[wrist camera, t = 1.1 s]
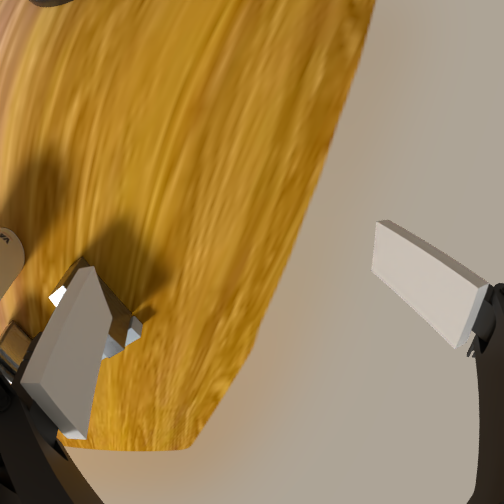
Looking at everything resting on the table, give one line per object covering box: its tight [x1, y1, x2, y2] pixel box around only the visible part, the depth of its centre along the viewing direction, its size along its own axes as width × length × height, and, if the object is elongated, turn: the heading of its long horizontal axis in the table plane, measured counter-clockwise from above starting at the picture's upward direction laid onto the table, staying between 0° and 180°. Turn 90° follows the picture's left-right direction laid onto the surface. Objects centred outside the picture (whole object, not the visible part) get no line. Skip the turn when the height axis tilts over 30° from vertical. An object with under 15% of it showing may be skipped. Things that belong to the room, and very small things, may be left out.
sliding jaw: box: [0, 321, 32, 384], centre depth 33 cm, size 11×4×10 cm, turn 29°
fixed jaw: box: [49, 257, 132, 358], centre depth 33 cm, size 11×4×8 cm, turn 29°
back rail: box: [102, 316, 143, 359], centre depth 39 cm, size 2×24×3 cm, turn 119°
